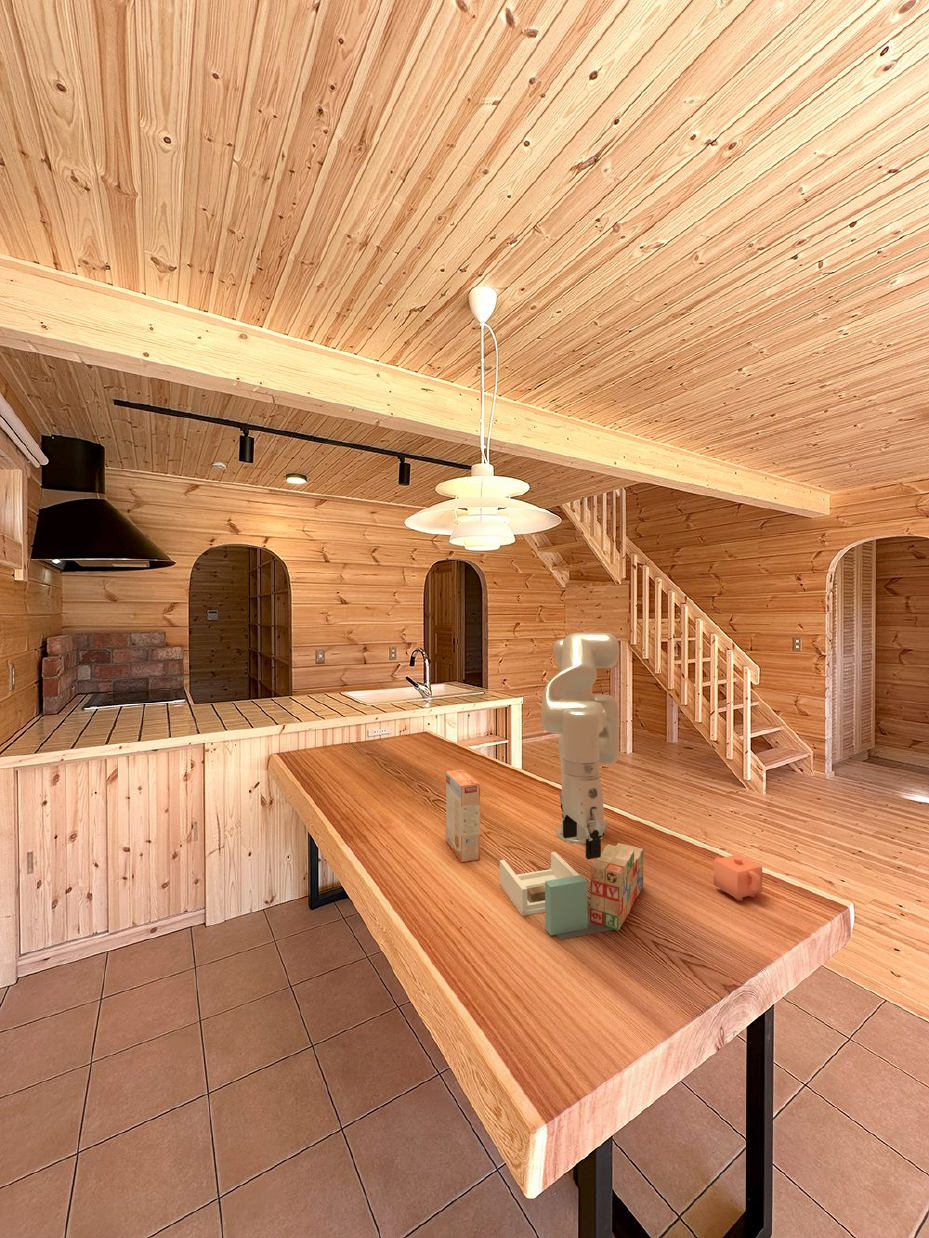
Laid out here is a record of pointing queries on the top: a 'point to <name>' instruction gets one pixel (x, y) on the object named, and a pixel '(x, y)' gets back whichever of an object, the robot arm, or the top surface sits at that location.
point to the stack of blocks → (615, 884)
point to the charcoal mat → (584, 931)
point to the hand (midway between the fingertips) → (581, 846)
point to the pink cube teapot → (737, 876)
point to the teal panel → (566, 905)
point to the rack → (532, 883)
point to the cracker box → (463, 815)
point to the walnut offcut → (536, 894)
